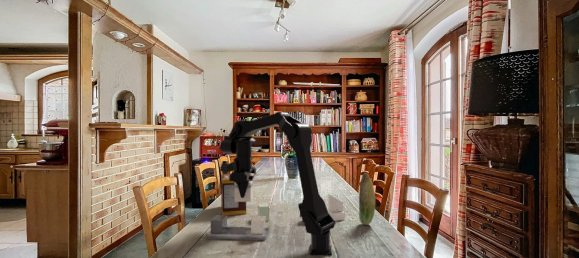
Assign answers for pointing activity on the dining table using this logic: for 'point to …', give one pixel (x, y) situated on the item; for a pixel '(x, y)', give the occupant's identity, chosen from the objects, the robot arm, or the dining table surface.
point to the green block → (263, 210)
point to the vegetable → (366, 200)
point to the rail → (238, 229)
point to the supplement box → (230, 198)
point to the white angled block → (335, 208)
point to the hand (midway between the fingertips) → (243, 196)
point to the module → (248, 194)
